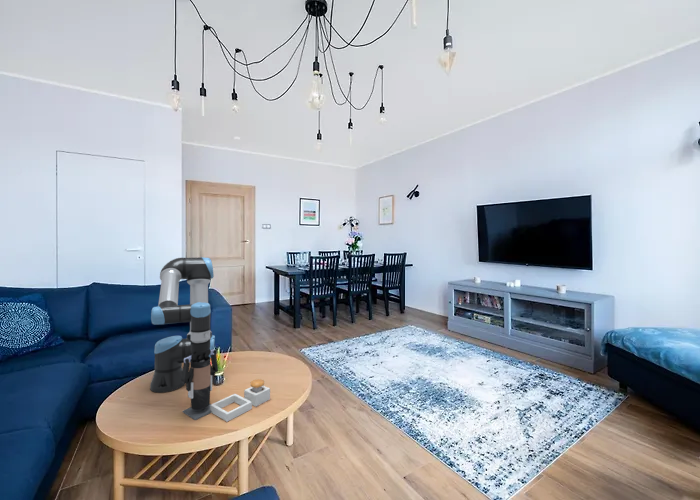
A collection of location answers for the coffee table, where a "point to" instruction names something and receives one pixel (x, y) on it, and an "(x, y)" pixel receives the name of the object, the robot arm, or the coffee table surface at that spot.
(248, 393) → the housing
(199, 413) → the mat
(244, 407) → the socket collar
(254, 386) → the tan and grey knob
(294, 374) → the coffee table surface
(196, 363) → the travel mug
